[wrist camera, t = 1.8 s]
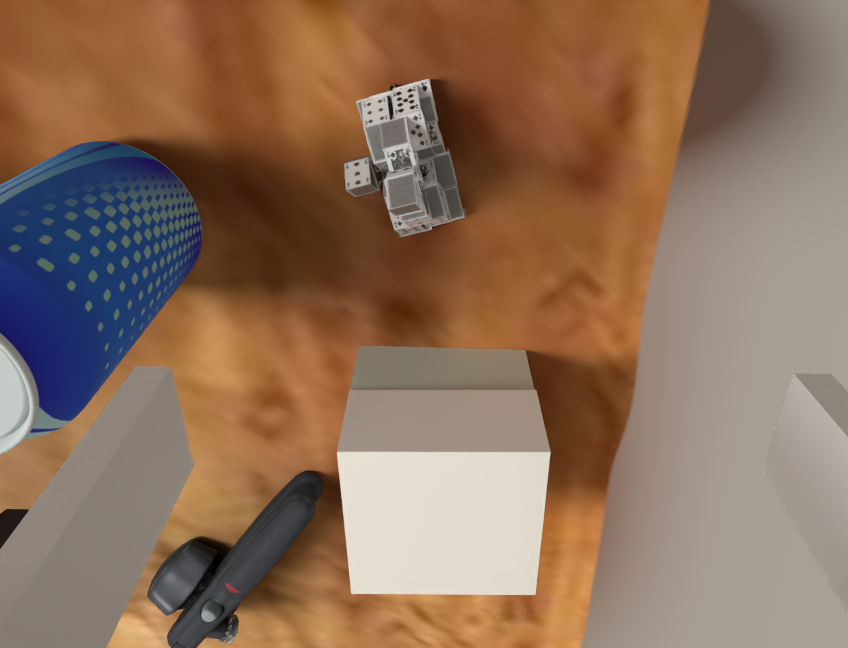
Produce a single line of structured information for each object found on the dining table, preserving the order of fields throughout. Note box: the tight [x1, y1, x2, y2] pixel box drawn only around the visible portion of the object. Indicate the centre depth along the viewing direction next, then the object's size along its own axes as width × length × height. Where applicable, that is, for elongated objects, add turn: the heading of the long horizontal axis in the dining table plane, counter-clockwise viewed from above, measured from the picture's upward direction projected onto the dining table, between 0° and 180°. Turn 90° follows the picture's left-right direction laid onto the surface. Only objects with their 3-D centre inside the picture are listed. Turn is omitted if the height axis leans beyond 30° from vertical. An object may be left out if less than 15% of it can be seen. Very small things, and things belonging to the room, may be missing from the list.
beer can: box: [0, 141, 202, 454], centre depth 28 cm, size 8×8×16 cm
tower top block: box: [337, 390, 551, 595], centre depth 35 cm, size 10×10×5 cm
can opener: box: [147, 472, 324, 648], centre depth 45 cm, size 18×7×6 cm, turn 138°
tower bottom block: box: [350, 346, 534, 390], centre depth 39 cm, size 10×10×5 cm
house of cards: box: [344, 79, 466, 237], centre depth 30 cm, size 9×9×8 cm
